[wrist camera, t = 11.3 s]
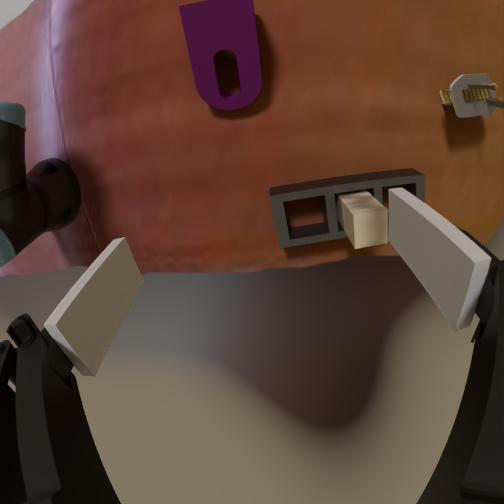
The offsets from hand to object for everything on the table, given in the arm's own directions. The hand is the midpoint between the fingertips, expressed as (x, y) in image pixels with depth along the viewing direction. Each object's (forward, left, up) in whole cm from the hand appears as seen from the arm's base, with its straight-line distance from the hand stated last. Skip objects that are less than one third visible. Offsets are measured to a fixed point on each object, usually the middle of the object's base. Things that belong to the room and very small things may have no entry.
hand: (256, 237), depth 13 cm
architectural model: (+38, +7, -34) cm, 51 cm away
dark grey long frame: (+13, -12, -33) cm, 37 cm away
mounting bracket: (-2, +16, -34) cm, 37 cm away
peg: (+13, -12, -33) cm, 37 cm away
